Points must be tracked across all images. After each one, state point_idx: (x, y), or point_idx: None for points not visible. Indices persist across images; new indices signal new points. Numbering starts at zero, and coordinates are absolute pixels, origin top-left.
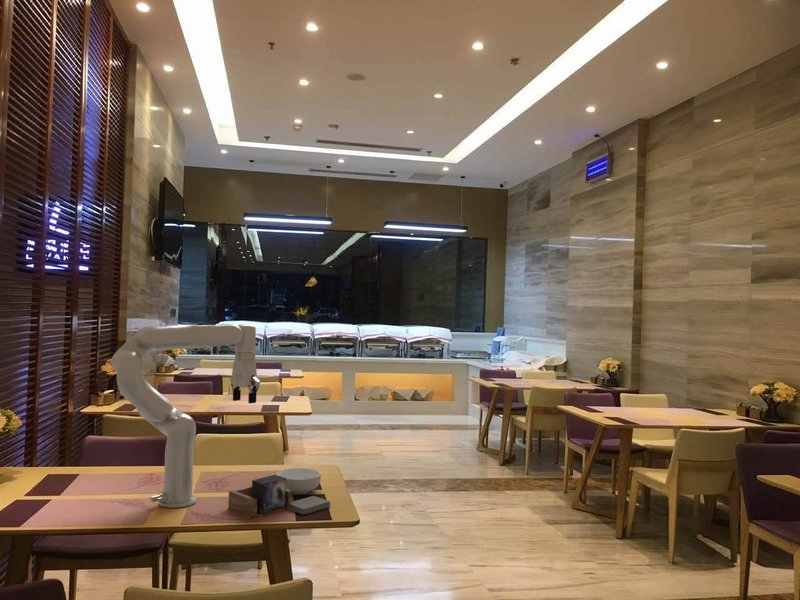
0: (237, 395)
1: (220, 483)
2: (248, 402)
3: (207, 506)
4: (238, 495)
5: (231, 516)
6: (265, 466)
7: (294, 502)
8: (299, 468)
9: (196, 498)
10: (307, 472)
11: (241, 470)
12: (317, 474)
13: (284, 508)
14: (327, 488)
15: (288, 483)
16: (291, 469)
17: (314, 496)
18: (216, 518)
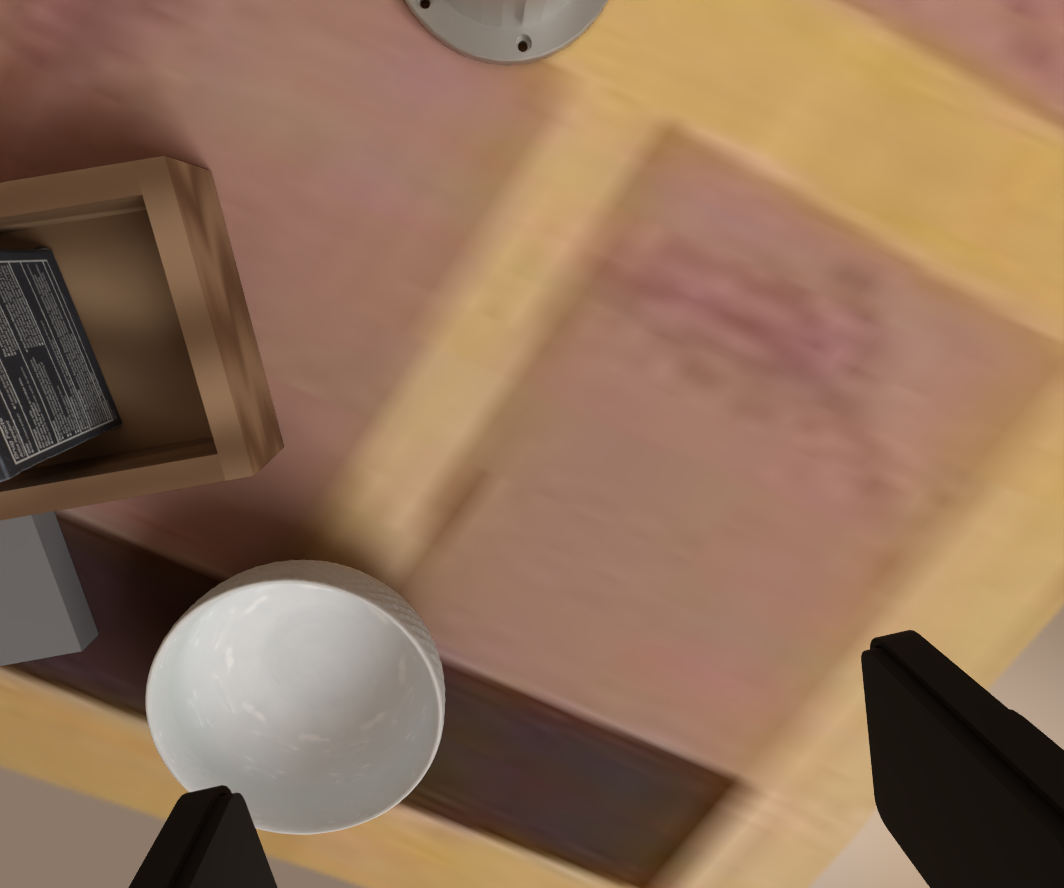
0: (950, 829)
1: (750, 350)
2: (212, 791)
3: (324, 75)
4: (42, 176)
5: (47, 120)
6: None
7: None
8: (421, 770)
9: (459, 48)
10: (383, 787)
11: (931, 571)
12: (294, 811)
13: None
14: None
15: (209, 592)
16: (434, 723)
17: (68, 650)
18: (51, 21)
